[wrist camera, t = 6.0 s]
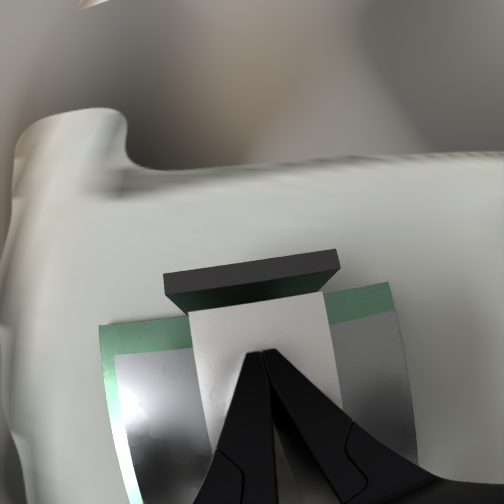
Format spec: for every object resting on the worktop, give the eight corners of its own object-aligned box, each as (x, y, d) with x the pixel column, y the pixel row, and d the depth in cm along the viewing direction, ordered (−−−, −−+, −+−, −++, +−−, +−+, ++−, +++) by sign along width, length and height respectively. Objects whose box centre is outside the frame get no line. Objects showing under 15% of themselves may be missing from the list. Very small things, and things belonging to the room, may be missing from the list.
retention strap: (354, 591, 6) (358, 598, 6) (258, 611, 6) (259, 619, 5) (317, 294, 10) (322, 291, 9) (191, 314, 10) (187, 311, 9)
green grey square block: (412, 518, 12) (489, 568, 4) (159, 566, 11) (123, 645, 3) (381, 286, 18) (467, 228, 10) (105, 327, 16) (13, 293, 8)
